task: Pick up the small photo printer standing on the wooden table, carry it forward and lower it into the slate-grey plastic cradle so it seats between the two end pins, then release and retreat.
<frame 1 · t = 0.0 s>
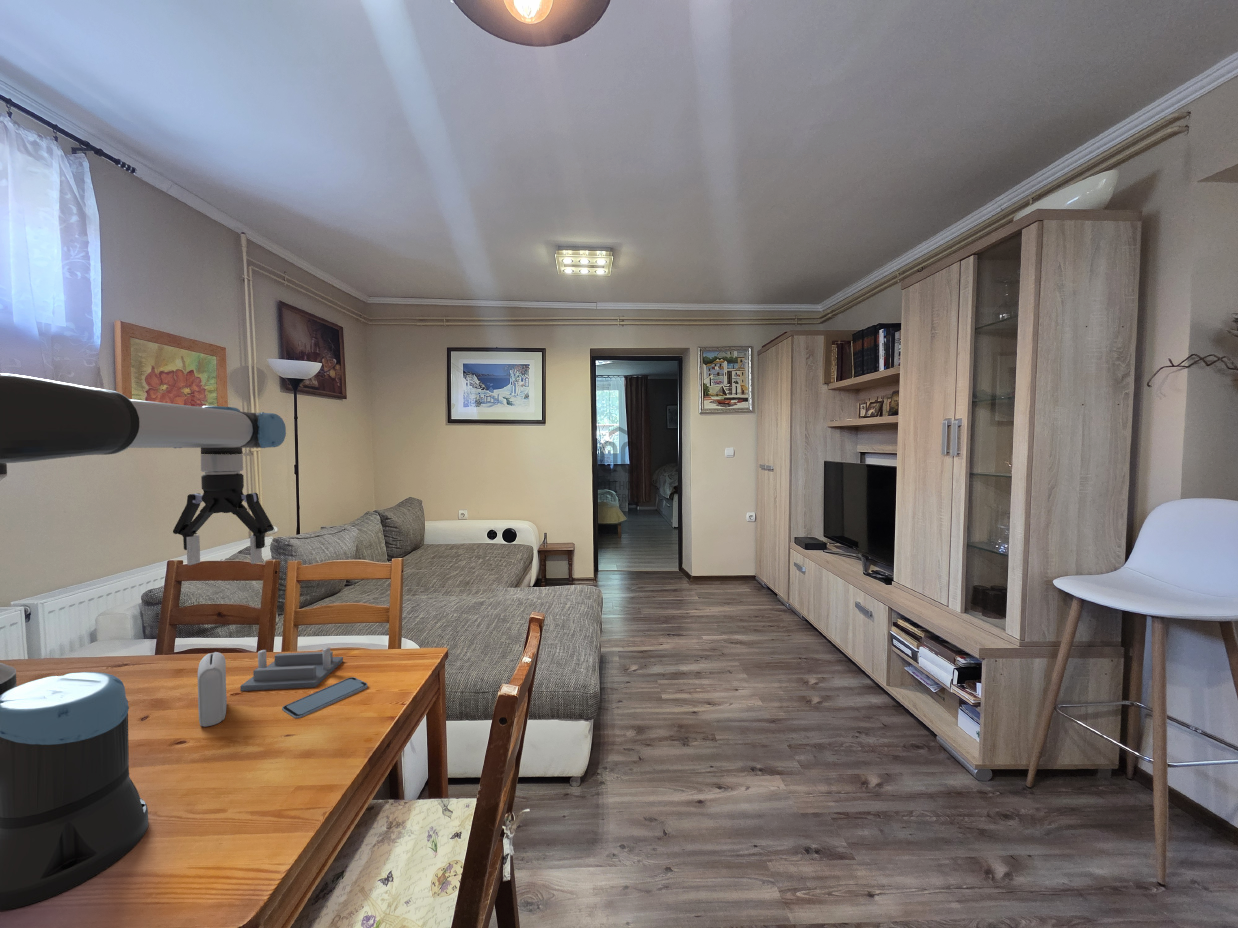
hand: (225, 563, 109), 28 cm above the table, fingers open, 13 cm apart
cradle: (295, 675, 112), on the table
smartphone: (326, 699, 102), on the table
photo printer: (213, 715, 96), on the table
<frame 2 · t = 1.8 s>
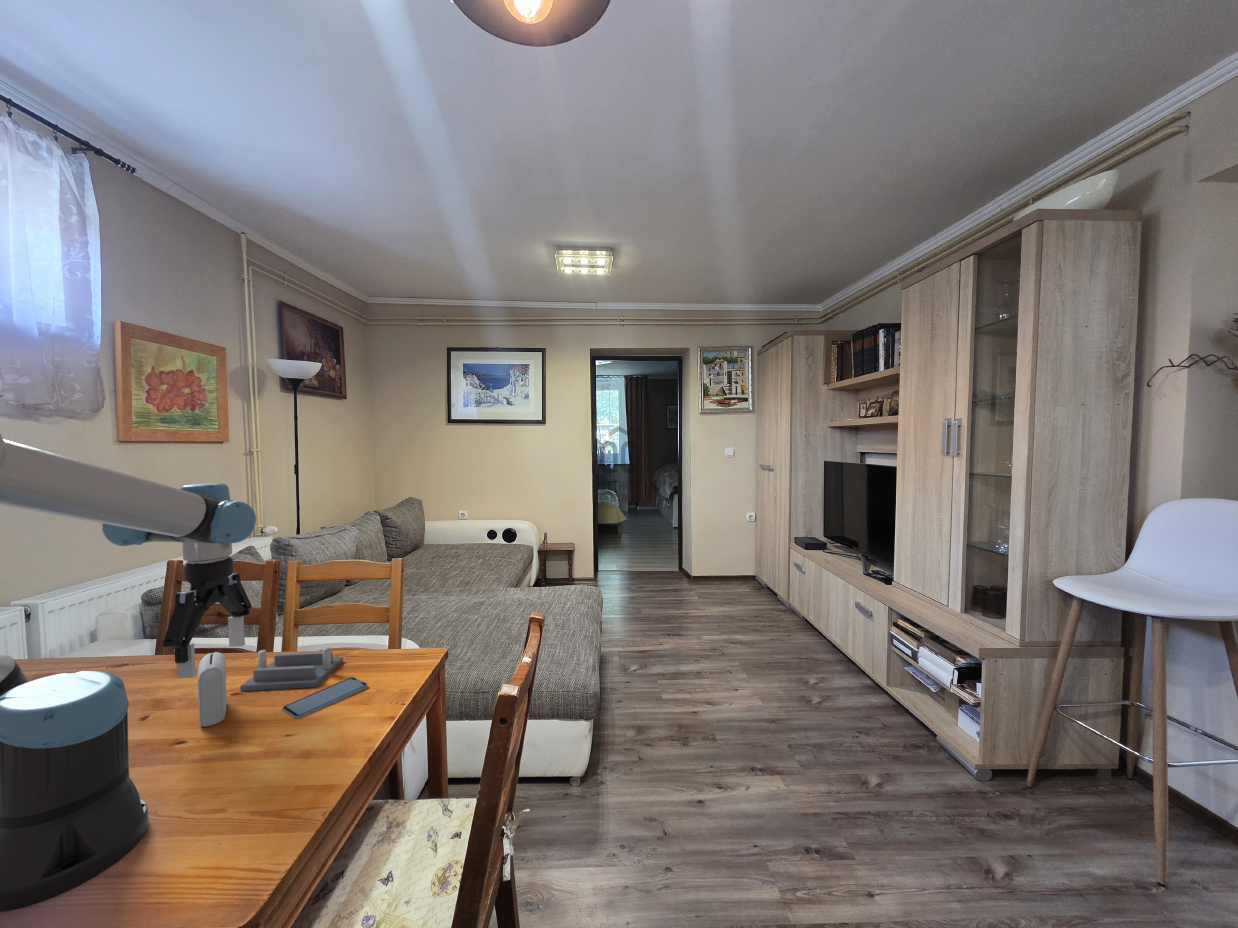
hand: (213, 660, 96), 11 cm above the table, fingers open, 13 cm apart
nothing on the table moved.
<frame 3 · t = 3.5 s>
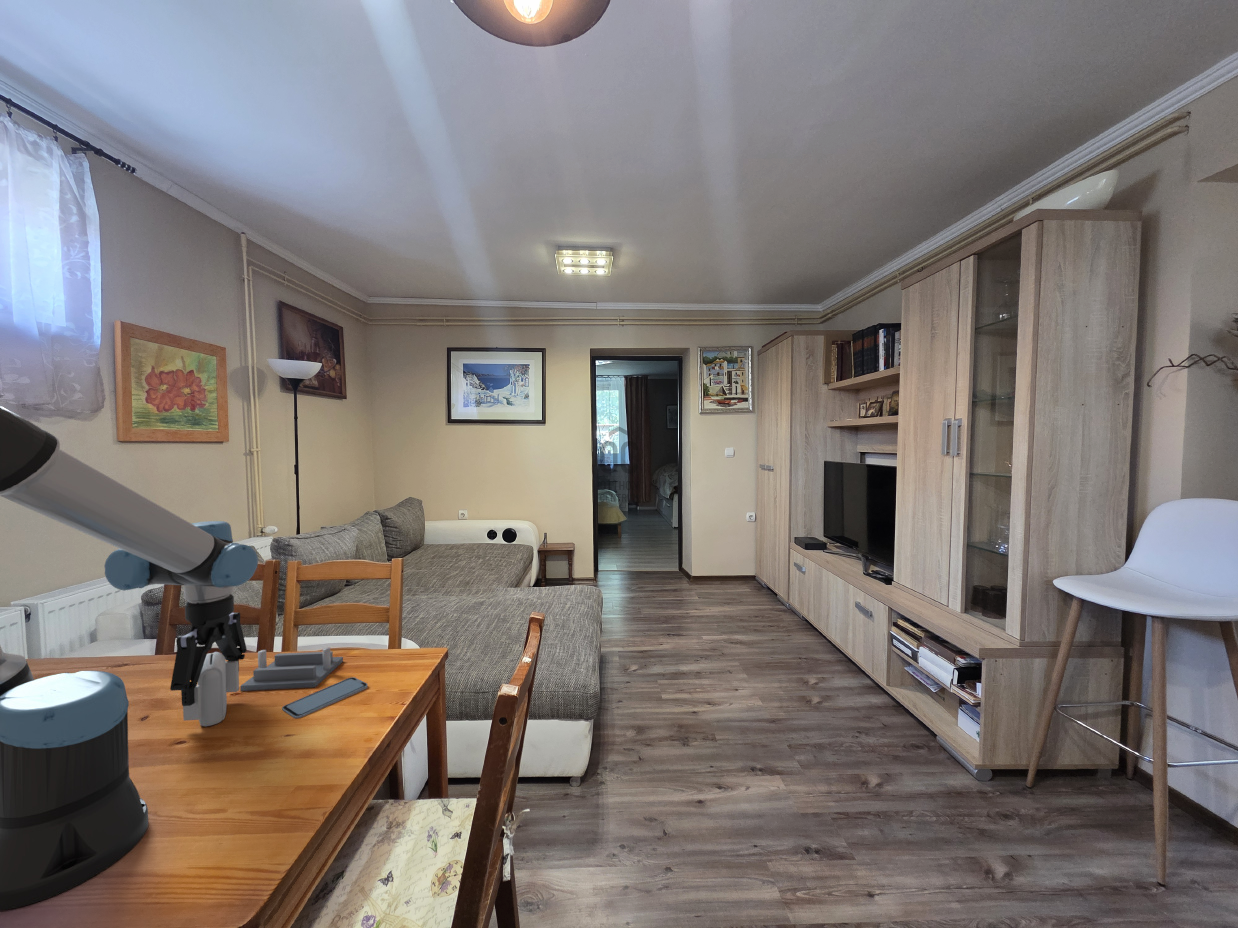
hand: (212, 704, 96), 2 cm above the table, fingers closed on photo printer, 10 cm apart
photo printer: (213, 715, 96), on the table, touching gripper
everything else where it was.
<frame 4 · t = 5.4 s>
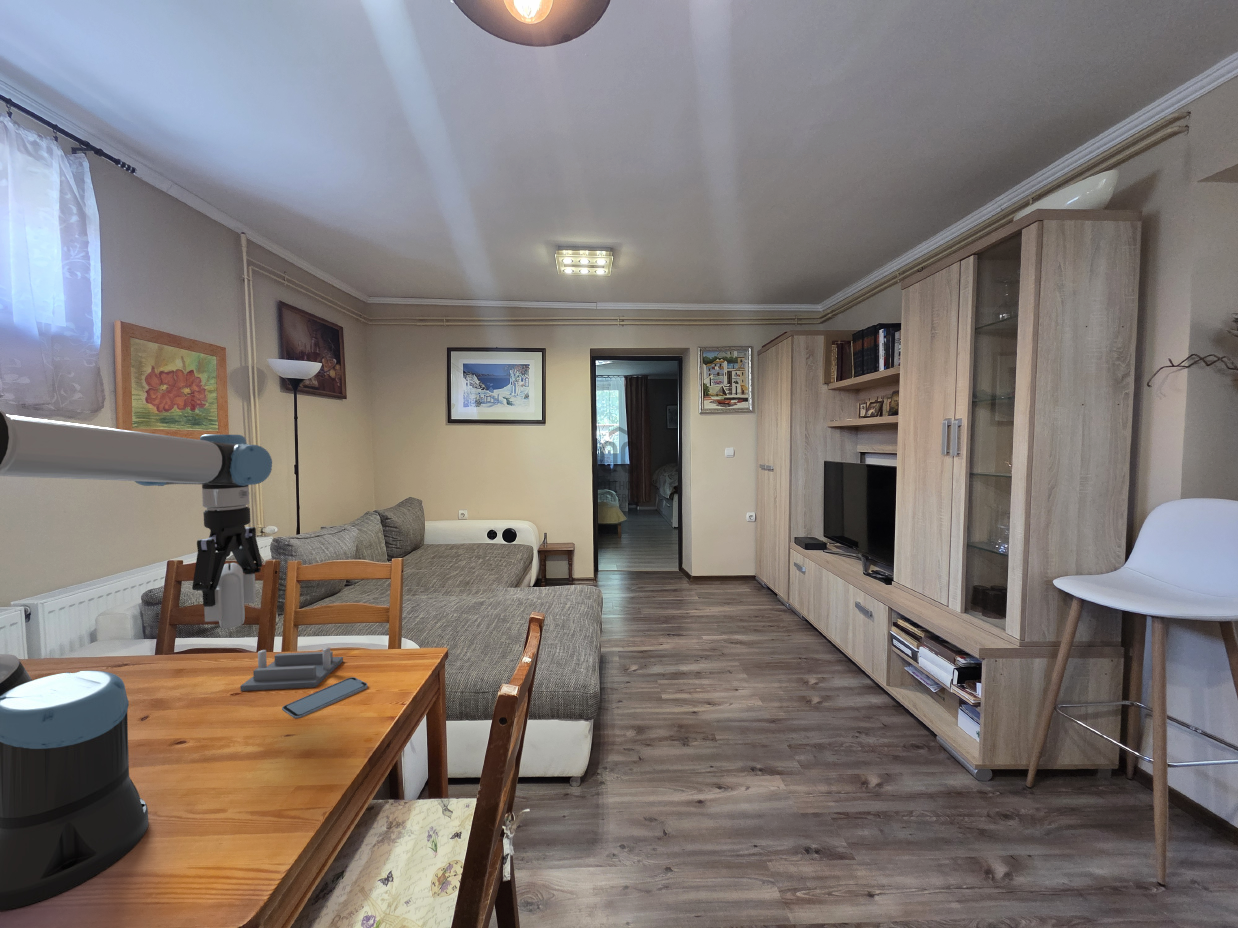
hand: (231, 611, 99), 20 cm above the table, fingers closed on photo printer, 10 cm apart
photo printer: (232, 622, 99), point 18 cm above the table, touching gripper
everything else where it was.
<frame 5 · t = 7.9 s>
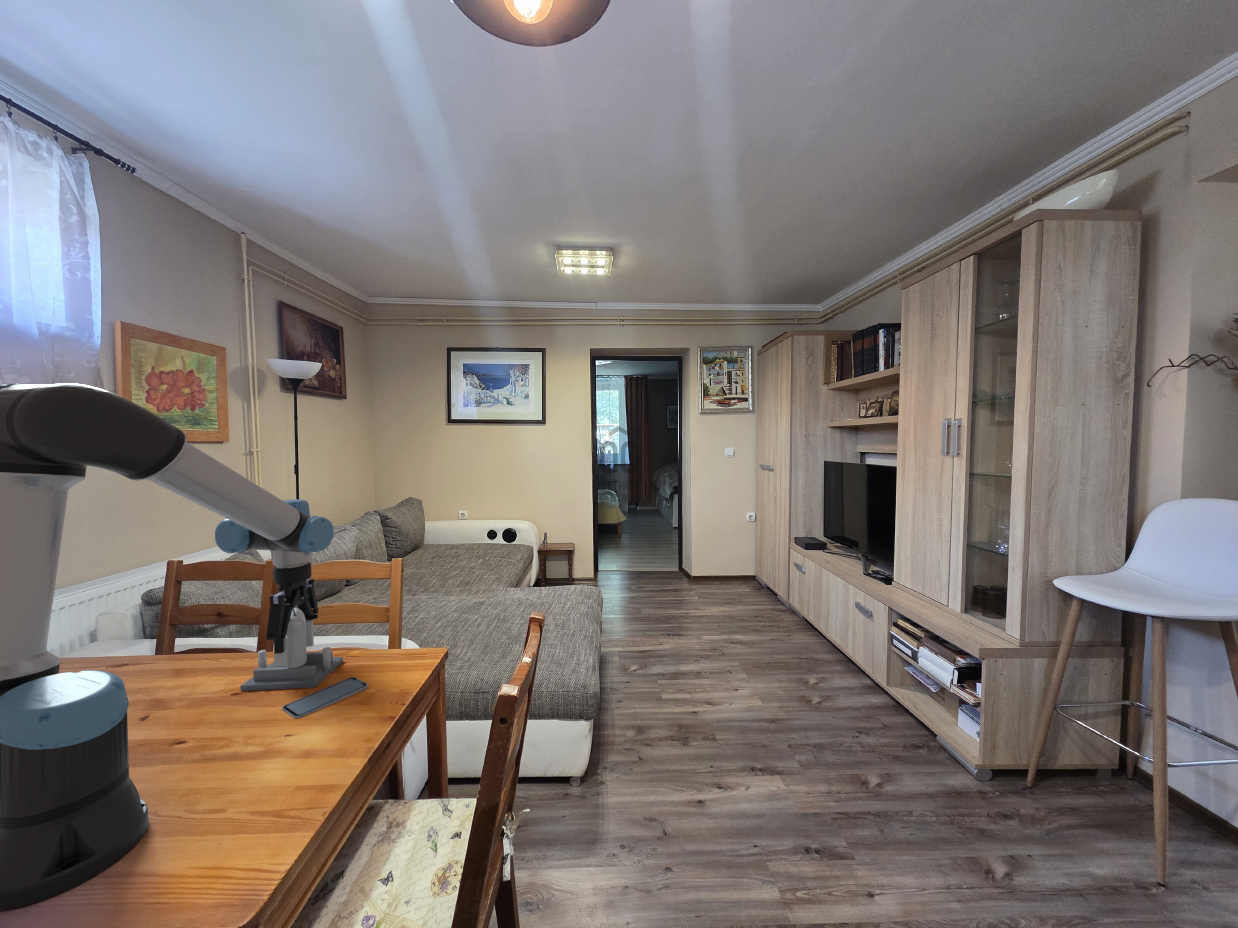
hand: (295, 655, 112), 5 cm above the table, fingers closed on photo printer, 10 cm apart
photo printer: (295, 661, 112), point 3 cm above the table, touching cradle, gripper
everything else where it was.
when the fingers open (4 cm above the table, at t = 8.9 s): photo printer stays where it is, resting on cradle.
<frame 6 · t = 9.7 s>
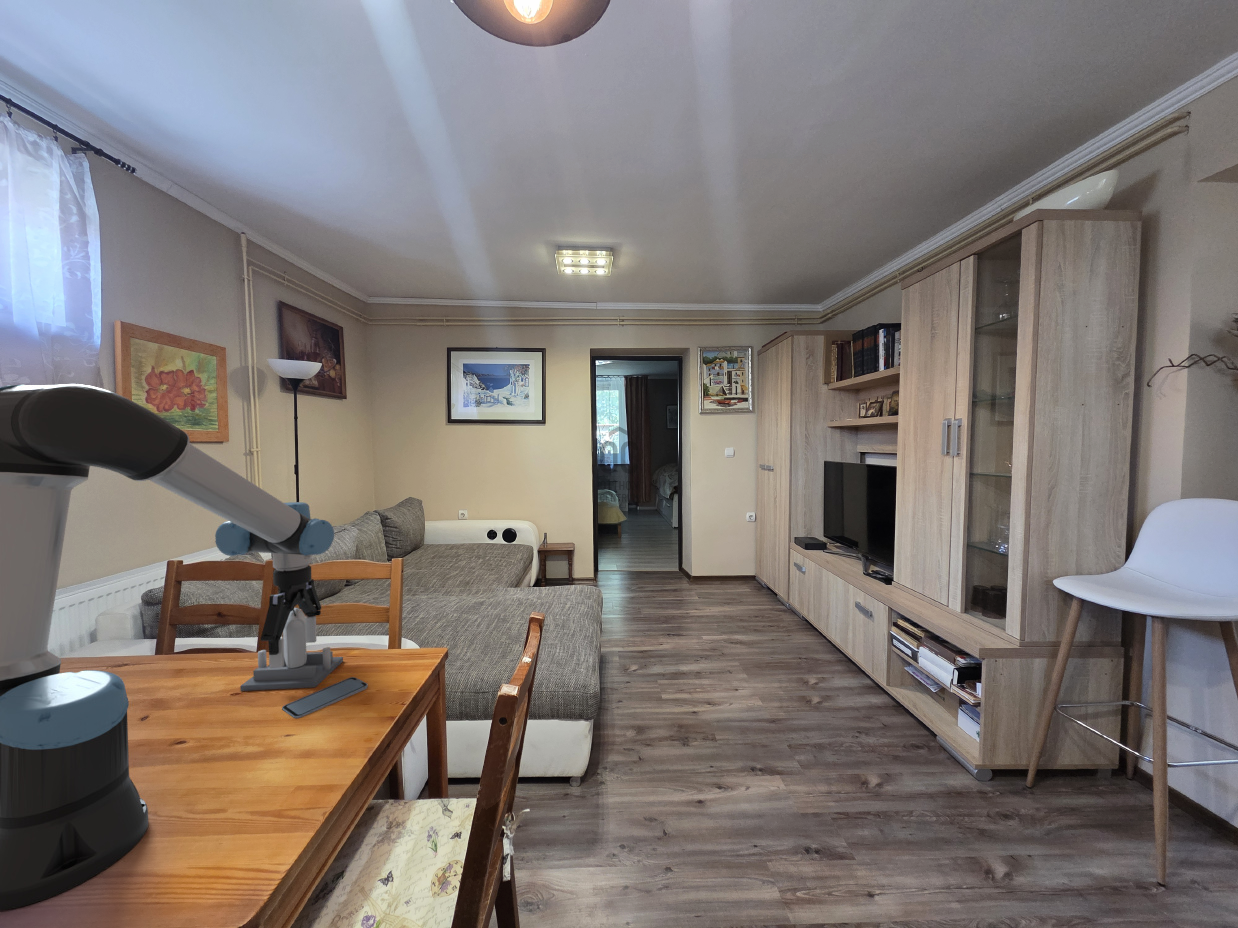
hand: (294, 653, 112), 5 cm above the table, fingers open, 13 cm apart
photo printer: (295, 661, 112), point 3 cm above the table, touching cradle
everything else where it was.
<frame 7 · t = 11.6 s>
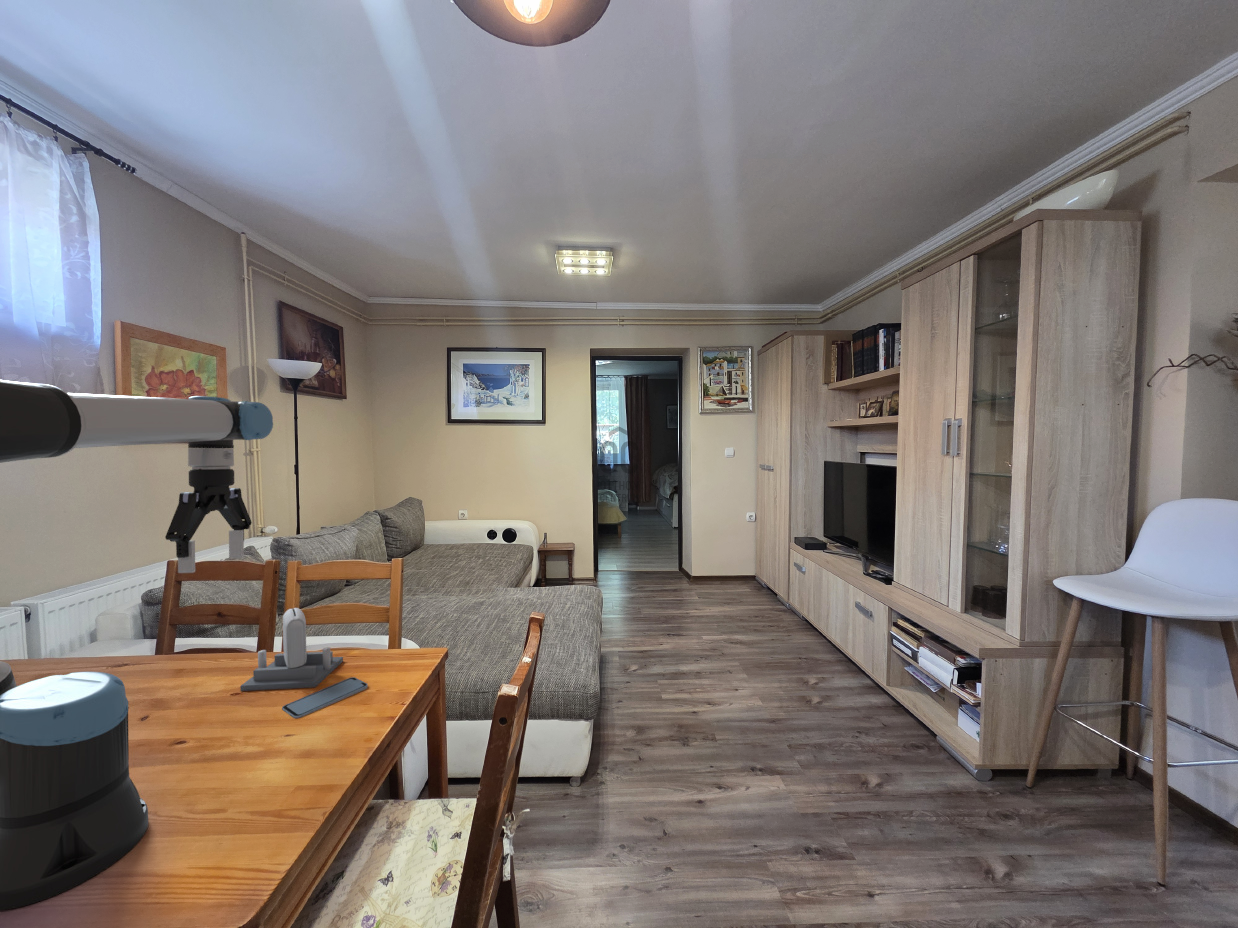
hand: (213, 564, 102), 29 cm above the table, fingers open, 13 cm apart
nothing on the table moved.
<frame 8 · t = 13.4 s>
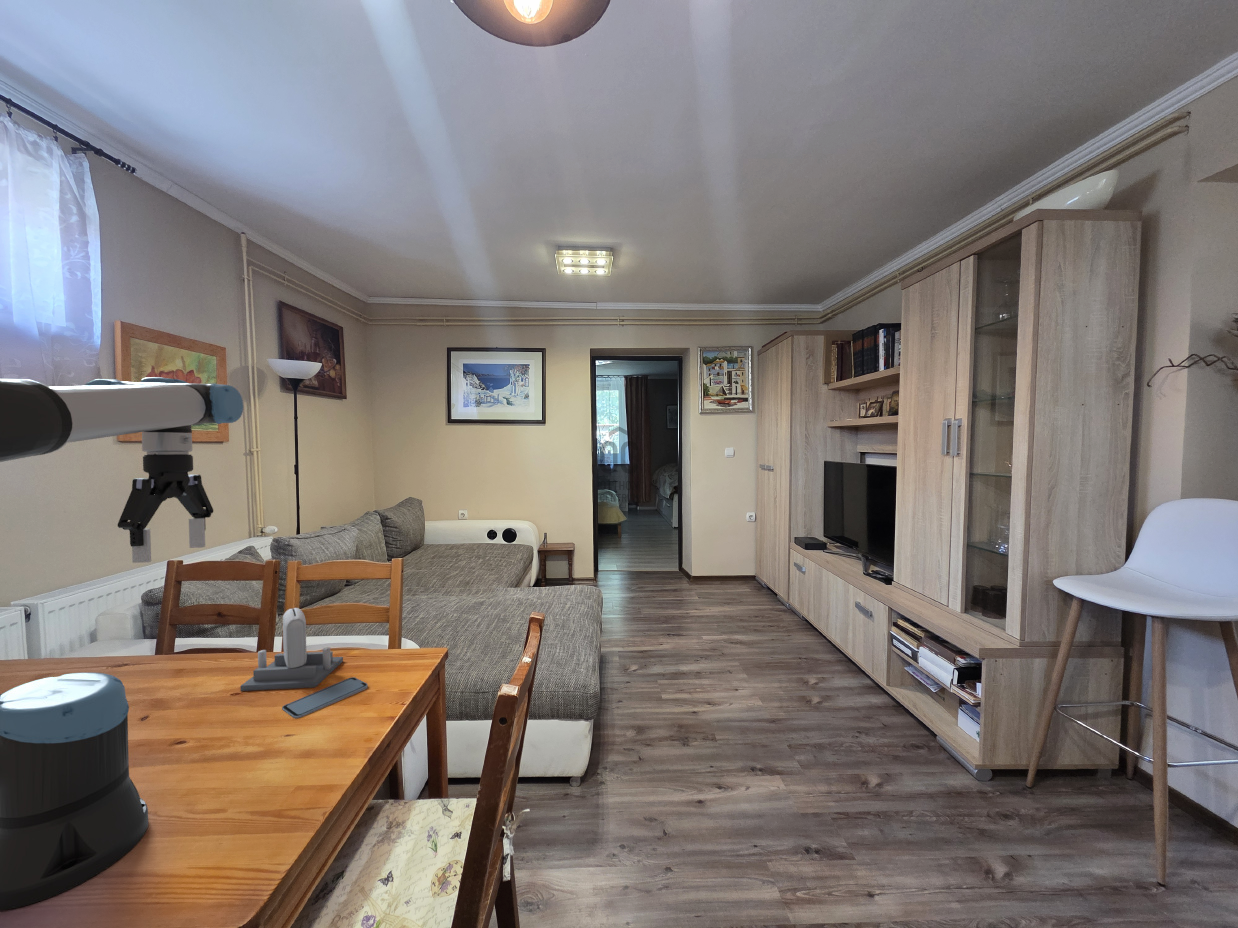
hand: (171, 554, 97), 33 cm above the table, fingers open, 13 cm apart
nothing on the table moved.
at the end: photo printer 0.1 cm off-centre on the cradle, point 3.4 cm above the cradle's base; photo printer tilted 0°; the gripper is holding nothing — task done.
